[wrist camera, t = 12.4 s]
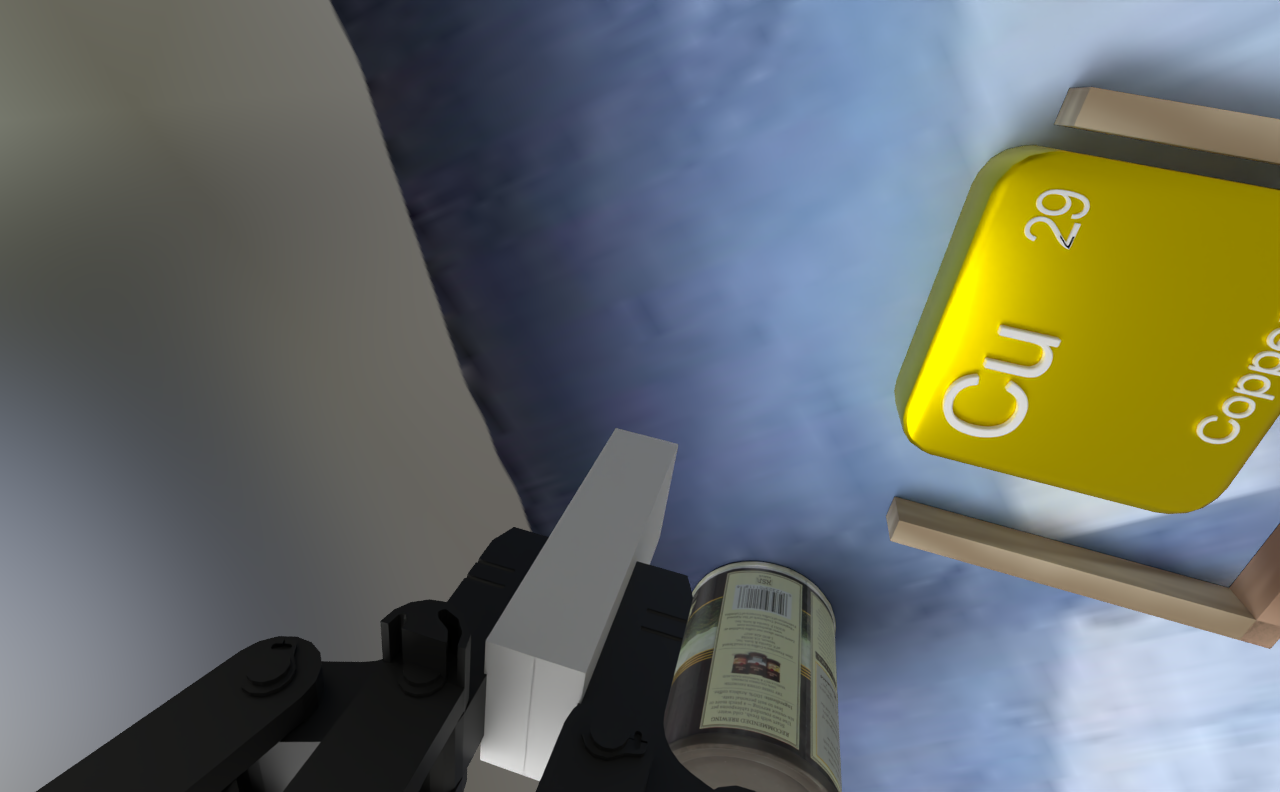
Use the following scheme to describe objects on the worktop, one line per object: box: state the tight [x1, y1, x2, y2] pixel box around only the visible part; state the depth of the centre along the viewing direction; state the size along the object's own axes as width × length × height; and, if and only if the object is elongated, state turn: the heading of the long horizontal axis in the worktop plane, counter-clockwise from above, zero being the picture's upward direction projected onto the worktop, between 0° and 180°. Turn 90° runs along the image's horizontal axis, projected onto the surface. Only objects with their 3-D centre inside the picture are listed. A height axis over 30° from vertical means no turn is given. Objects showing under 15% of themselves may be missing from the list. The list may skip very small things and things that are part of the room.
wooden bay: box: [886, 87, 1280, 649], centre depth 31 cm, size 24×20×2 cm
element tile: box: [894, 145, 1280, 514], centre depth 30 cm, size 15×15×5 cm
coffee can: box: [664, 561, 842, 792], centre depth 38 cm, size 10×10×14 cm
